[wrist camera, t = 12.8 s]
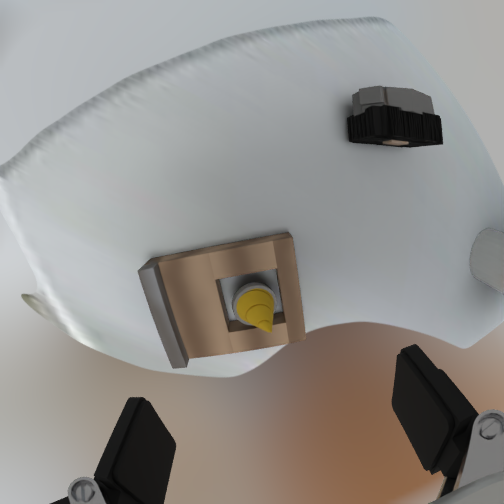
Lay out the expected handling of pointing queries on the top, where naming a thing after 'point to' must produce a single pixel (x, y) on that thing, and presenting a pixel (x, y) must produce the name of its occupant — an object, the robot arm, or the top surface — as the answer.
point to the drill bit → (255, 305)
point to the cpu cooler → (394, 118)
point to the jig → (220, 298)
